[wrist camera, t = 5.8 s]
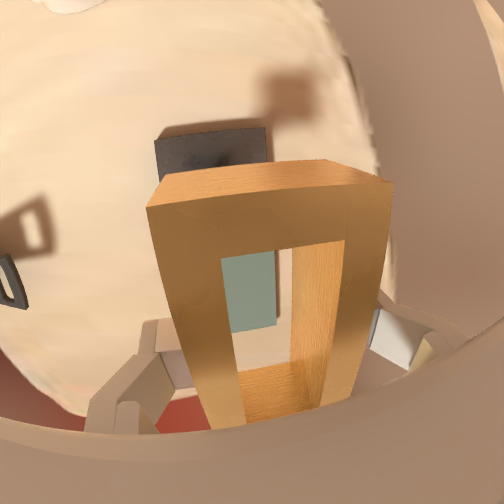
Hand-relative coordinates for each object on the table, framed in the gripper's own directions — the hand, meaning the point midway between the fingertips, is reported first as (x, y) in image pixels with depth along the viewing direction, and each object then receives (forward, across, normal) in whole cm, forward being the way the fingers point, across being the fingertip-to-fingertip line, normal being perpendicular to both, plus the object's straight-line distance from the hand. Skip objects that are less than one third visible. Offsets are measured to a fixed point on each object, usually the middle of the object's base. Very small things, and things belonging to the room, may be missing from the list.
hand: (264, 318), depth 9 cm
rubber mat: (+24, 0, +15) cm, 29 cm away
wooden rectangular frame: (+1, 0, 0) cm, 1 cm away
